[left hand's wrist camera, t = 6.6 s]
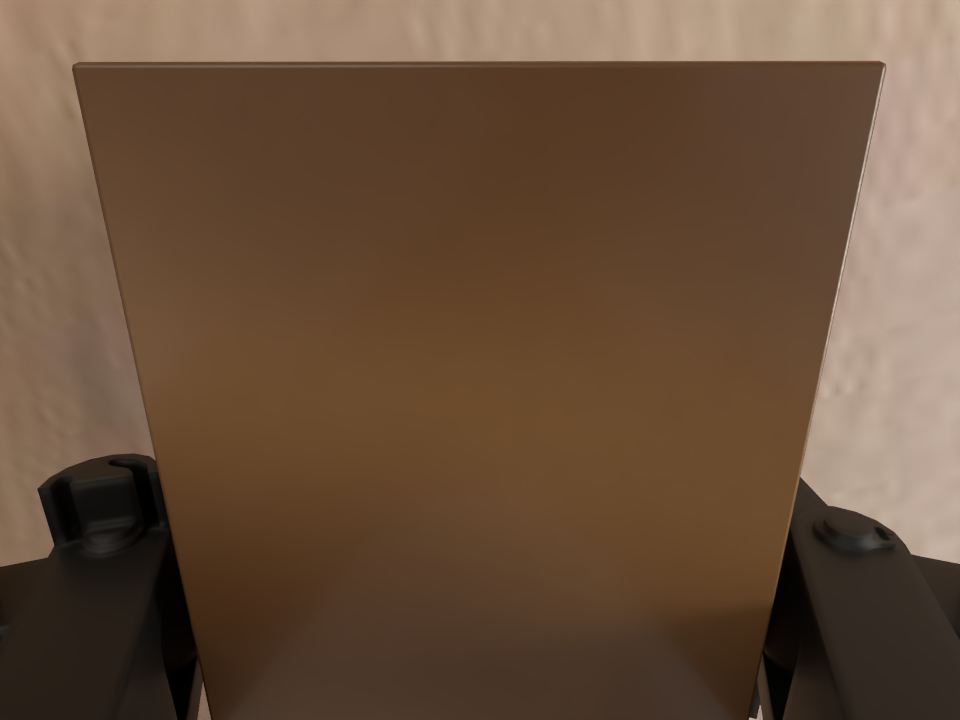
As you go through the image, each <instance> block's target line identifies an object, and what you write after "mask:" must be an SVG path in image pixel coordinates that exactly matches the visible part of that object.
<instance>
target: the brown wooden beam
mask: <svg viewBox="0 0 960 720" xmlns="http://www.w3.org/2000/svg"><path fill="white" fill-rule="evenodd" d="M72 71H73V76H74V80H75V85H76V90H77V94H78V99H79V104H80V108H81V113H82V118H83V122H84V127H85V132H86V136H87V141H88V146H89V150H90V155H91V160H92V164H93V169H94V174H95V178H96V183H97V188H98V192H99V197H100V202H101V206H102V211H103V216H104V220H105V225H106V230H107V234H108V239H109V244H110V248H111V253H112V258H113V262H114V267H115V272H116V276H117V281H118V286H119V290H120V295H121V300H122V304H123V309H124V314H125V318H126V323H127V328H128V332H129V337H130V342H131V346H132V351H133V356H134V360H135V365H136V370H137V374H138V379H139V384H140V388H141V393H142V398H143V402H144V407H145V412H146V416H147V421H148V426H149V430H150V435H151V440H152V444H153V449H154V454H155V458H156V463H157V468H158V472H159V477H160V482H161V487H162V491H163V496H164V501H165V505H166V510H167V515H168V519H169V524H170V529H171V533H172V538H173V543H174V547H175V552H176V557H177V561H178V566H179V571H180V575H181V580H182V585H183V589H184V594H185V599H186V603H187V608H188V613H189V617H190V622H191V627H192V631H193V636H194V641H195V645H196V650H197V655H198V659H199V664H200V669H201V673H202V678H203V683H204V687H205V692H206V697H207V701H208V706H209V711H210V715H211V720H749V716H750V711H751V706H752V701H753V697H754V692H755V687H756V682H757V678H758V673H759V668H760V663H761V659H762V654H763V649H764V645H765V640H766V635H767V630H768V626H769V621H770V616H771V611H772V607H773V602H774V597H775V592H776V588H777V583H778V578H779V574H780V569H781V564H782V559H783V555H784V550H785V545H786V540H787V536H788V531H789V526H790V522H791V517H792V512H793V507H794V503H795V498H796V493H797V488H798V484H799V479H800V474H801V469H802V465H803V460H804V455H805V451H806V446H807V441H808V436H809V432H810V427H811V422H812V417H813V413H814V408H815V403H816V399H817V394H818V389H819V384H820V380H821V375H822V370H823V365H824V361H825V356H826V351H827V346H828V342H829V337H830V332H831V328H832V323H833V318H834V313H835V309H836V304H837V299H838V294H839V290H840V285H841V280H842V275H843V271H844V266H845V261H846V257H847V252H848V247H849V242H850V238H851V233H852V228H853V223H854V219H855V214H856V209H857V205H858V200H859V195H860V190H861V186H862V181H863V176H864V171H865V167H866V162H867V157H868V152H869V148H870V143H871V138H872V134H873V129H874V124H875V119H876V115H877V110H878V105H879V100H880V96H881V91H882V86H883V81H884V77H885V72H886V64H885V63H883V62H880V61H508V62H78V63H76V64H74V65H73V68H72Z"/></svg>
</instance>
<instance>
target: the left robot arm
mask: <svg viewBox="0 0 960 720" xmlns="http://www.w3.org/2000/svg"><path fill="white" fill-rule="evenodd" d="M38 492H39V496H40V499H41V502H42V505H43V509H44V512H45V515H46V519H47V522H48V525H49V528H50V532H51V535H52V538H53V542H54V545H55V546H54V548H53V549H52V551H51V553H50V555H49V557H48V558H44V559H39V560H34V561H29V562H24V563H18V564H13V565H8V566H3V567H0V720H197V717H198V710H199V703H200V697H201V690H202V683H203V678H202V673H201V669H200V664H199V659H198V655H197V650H196V645H195V641H194V636H193V631H192V627H191V622H190V617H189V613H188V608H187V603H186V599H185V594H184V589H183V585H182V580H181V575H180V571H179V566H178V561H177V557H176V552H175V547H174V543H173V538H172V533H171V529H170V524H169V519H168V515H167V510H166V505H165V501H164V496H163V491H162V487H161V482H160V477H159V472H158V468H157V463H156V461H155V460H154V459H152V458H151V457H150V456H144V455H139V454H117V455H110V456H105V457H100V458H95V459H91V460H88V461H85V462H82V463H79V464H76V465H74V466H71V467H68V468H66V469H65V470H63V471H61V472H59V473H57V474H55V475H54V476H52V477H50V478H49V479H48V480H47V481H46V482H44V483H43V484H42V485H41V486H40V487H39V488H38ZM759 705H761V709H762V715H763V720H960V564H957V563H951V562H946V561H941V560H936V559H931V558H925V557H920V556H916V555H912V554H910V552H909V550H908V548H907V547H906V545H905V544H904V543H903V541H902V540H901V539H900V538H899V537H898V536H897V535H896V534H895V532H893V531H892V530H890V529H889V528H887V527H886V526H884V525H882V524H881V523H879V522H878V521H876V520H874V519H871V518H869V517H867V516H864V515H862V514H860V513H857V512H854V511H850V510H846V509H842V508H838V507H834V506H827V505H826V503H825V502H824V501H823V500H822V499H821V498H820V497H819V496H818V495H817V494H816V493H815V492H814V491H813V490H812V489H811V488H810V487H809V486H808V485H807V484H806V483H805V482H804V480H803V479H802V478H801V477H800V479H799V484H798V488H797V493H796V498H795V503H794V507H793V512H792V517H791V522H790V526H789V531H788V536H787V540H786V545H785V550H784V555H783V559H782V564H781V569H780V574H779V578H778V583H777V588H776V592H775V597H774V602H773V607H772V611H771V616H770V621H769V626H768V630H767V635H766V640H765V645H764V649H763V654H762V659H761V663H760V668H759V673H758V678H757V682H756V687H755V692H754V697H753V701H752V706H751V711H750V716H749V717H751V718H755V719H757V714H758V710H759Z"/></svg>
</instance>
